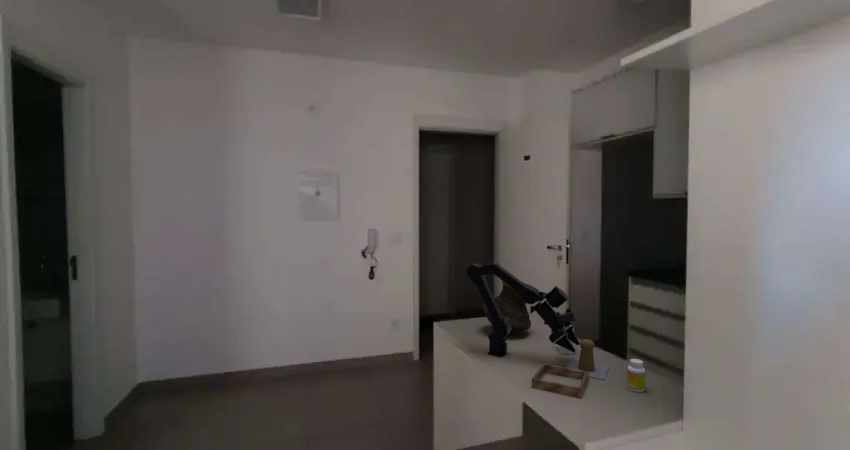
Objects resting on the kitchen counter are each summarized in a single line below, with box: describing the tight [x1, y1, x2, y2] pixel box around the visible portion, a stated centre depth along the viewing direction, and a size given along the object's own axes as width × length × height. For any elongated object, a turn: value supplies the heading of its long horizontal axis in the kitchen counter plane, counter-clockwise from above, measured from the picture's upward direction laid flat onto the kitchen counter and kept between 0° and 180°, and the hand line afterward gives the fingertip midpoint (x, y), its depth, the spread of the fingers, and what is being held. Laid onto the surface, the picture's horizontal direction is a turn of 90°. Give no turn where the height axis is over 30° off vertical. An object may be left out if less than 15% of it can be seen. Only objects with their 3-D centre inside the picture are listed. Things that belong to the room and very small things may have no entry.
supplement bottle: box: [626, 358, 646, 393], centre depth 144 cm, size 5×5×10 cm
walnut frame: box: [531, 363, 590, 399], centre depth 147 cm, size 16×16×3 cm
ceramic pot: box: [482, 280, 532, 334], centre depth 205 cm, size 24×24×22 cm
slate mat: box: [565, 359, 610, 381], centre depth 160 cm, size 14×14×1 cm
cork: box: [578, 338, 596, 372], centre depth 160 cm, size 6×6×11 cm
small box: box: [557, 325, 575, 355], centre depth 180 cm, size 8×6×10 cm
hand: (576, 348), depth 162 cm, fingers open, 9 cm apart
